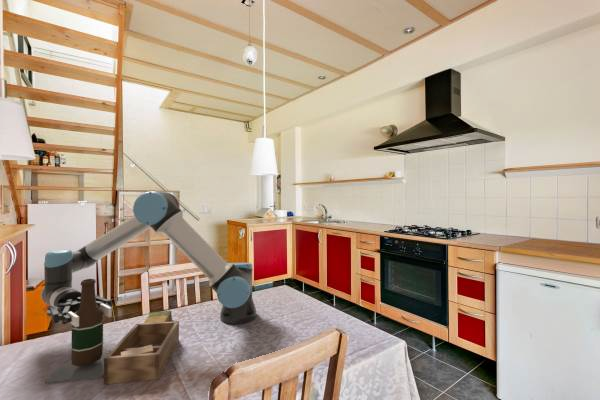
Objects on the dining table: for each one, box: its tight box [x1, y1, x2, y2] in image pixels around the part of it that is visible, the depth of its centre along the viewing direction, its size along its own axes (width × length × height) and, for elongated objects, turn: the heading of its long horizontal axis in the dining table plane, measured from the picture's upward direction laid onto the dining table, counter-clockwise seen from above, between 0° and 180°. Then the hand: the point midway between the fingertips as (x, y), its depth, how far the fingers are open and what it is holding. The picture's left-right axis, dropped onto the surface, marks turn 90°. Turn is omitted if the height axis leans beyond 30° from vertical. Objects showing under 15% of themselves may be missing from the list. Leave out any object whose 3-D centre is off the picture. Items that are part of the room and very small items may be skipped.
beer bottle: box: [70, 278, 104, 367], centre depth 86 cm, size 8×8×24 cm
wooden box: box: [103, 320, 180, 385], centre depth 89 cm, size 14×22×7 cm, turn 10°
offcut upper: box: [121, 344, 153, 355], centre depth 83 cm, size 8×4×3 cm, turn 124°
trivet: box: [44, 350, 112, 384], centre depth 86 cm, size 14×14×1 cm
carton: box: [143, 310, 173, 323], centre depth 111 cm, size 8×16×4 cm, turn 14°
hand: (94, 317), depth 83 cm, fingers closed on beer bottle, 7 cm apart
